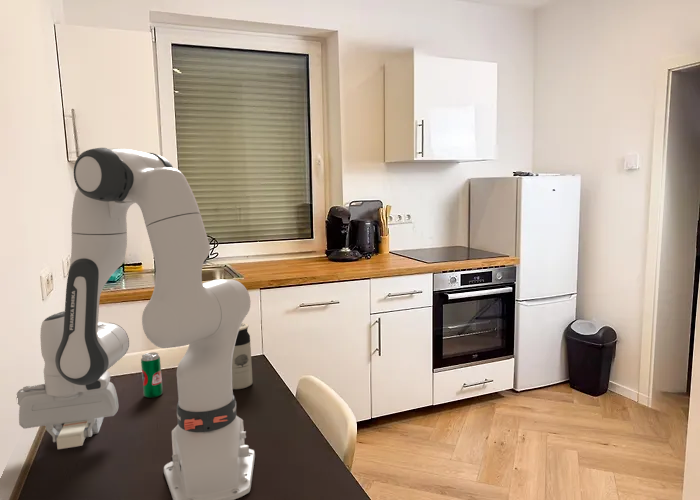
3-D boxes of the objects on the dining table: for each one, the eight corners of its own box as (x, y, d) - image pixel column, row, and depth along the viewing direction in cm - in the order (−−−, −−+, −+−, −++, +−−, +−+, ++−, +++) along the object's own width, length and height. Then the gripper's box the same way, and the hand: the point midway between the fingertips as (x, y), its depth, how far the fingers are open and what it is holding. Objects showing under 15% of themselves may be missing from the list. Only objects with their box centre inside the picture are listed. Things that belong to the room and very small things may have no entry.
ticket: (82, 445, 118) (81, 435, 118) (57, 449, 117) (56, 438, 117) (94, 416, 134) (93, 406, 133) (72, 419, 132) (71, 409, 132)
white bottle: (224, 381, 158) (220, 324, 155) (250, 378, 160) (247, 321, 158) (226, 391, 150) (222, 331, 148) (254, 387, 153) (250, 328, 150)
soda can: (156, 399, 146) (153, 358, 145) (140, 398, 147) (136, 357, 146) (166, 392, 151) (163, 352, 149) (150, 391, 152) (147, 351, 150)
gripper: (10, 393, 113) (17, 452, 115) (113, 380, 119) (118, 437, 121) (19, 382, 119) (26, 439, 121) (116, 370, 125) (121, 425, 127)
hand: (73, 438), depth 121 cm, fingers closed on ticket, 5 cm apart
